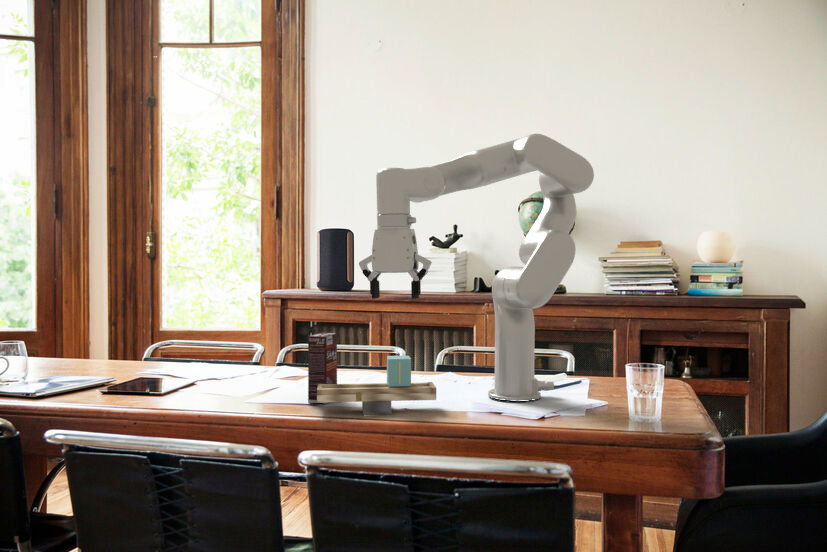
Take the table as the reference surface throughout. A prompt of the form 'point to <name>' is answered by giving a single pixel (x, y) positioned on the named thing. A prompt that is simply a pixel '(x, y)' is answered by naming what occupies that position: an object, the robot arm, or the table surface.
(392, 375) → the block
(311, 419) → the table surface
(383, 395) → the beam
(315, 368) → the supplement box
